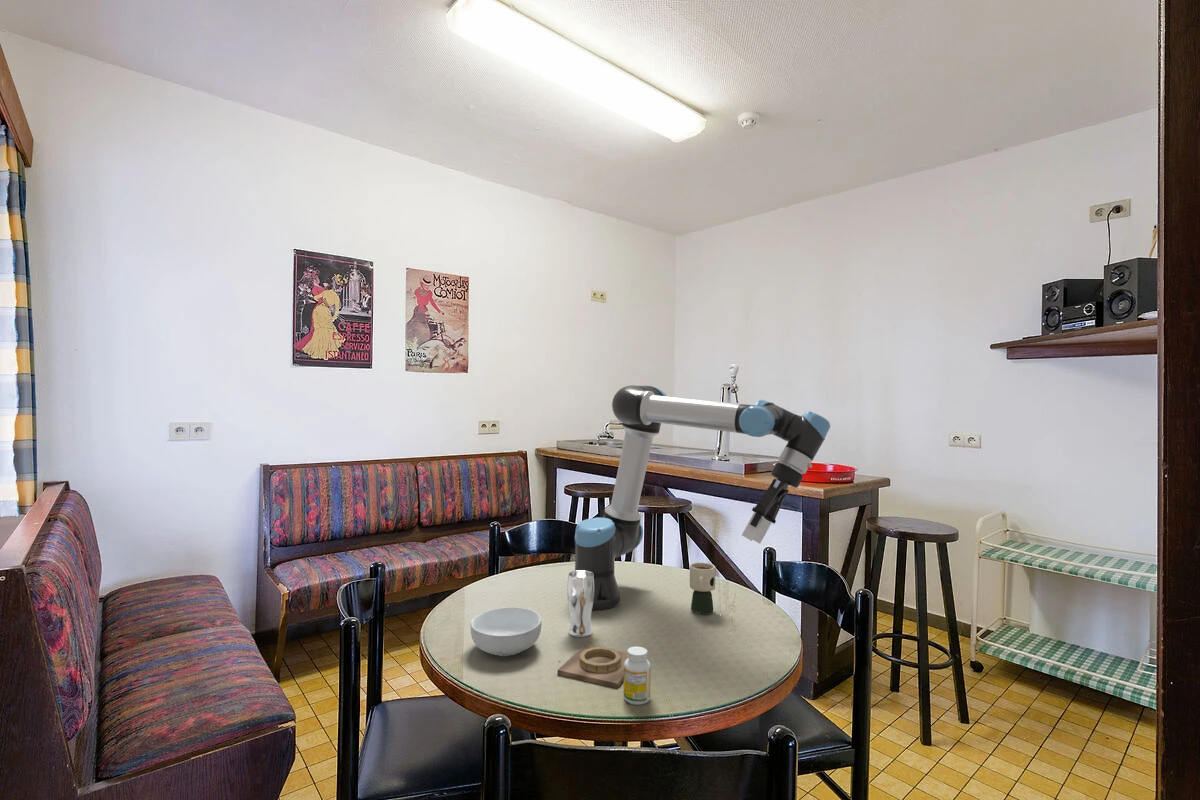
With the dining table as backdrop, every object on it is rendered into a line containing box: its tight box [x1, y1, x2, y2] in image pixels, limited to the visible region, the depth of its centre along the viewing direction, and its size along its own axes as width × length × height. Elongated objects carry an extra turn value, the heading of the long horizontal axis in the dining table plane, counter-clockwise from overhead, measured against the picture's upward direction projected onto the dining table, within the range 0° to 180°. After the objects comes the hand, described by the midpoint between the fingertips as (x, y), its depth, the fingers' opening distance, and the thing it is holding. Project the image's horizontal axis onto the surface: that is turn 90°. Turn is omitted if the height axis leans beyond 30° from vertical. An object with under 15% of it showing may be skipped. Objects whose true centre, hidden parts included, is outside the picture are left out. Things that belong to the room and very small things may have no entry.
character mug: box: [689, 561, 716, 615], centre depth 161 cm, size 11×7×13 cm, turn 166°
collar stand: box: [557, 644, 628, 689], centre depth 127 cm, size 14×14×2 cm
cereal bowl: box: [470, 606, 542, 657], centre depth 136 cm, size 17×17×7 cm
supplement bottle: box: [623, 646, 652, 706], centre depth 114 cm, size 5×5×10 cm
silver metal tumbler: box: [566, 570, 595, 638], centre depth 146 cm, size 7×7×15 cm
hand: (751, 539), depth 148 cm, fingers open, 13 cm apart
